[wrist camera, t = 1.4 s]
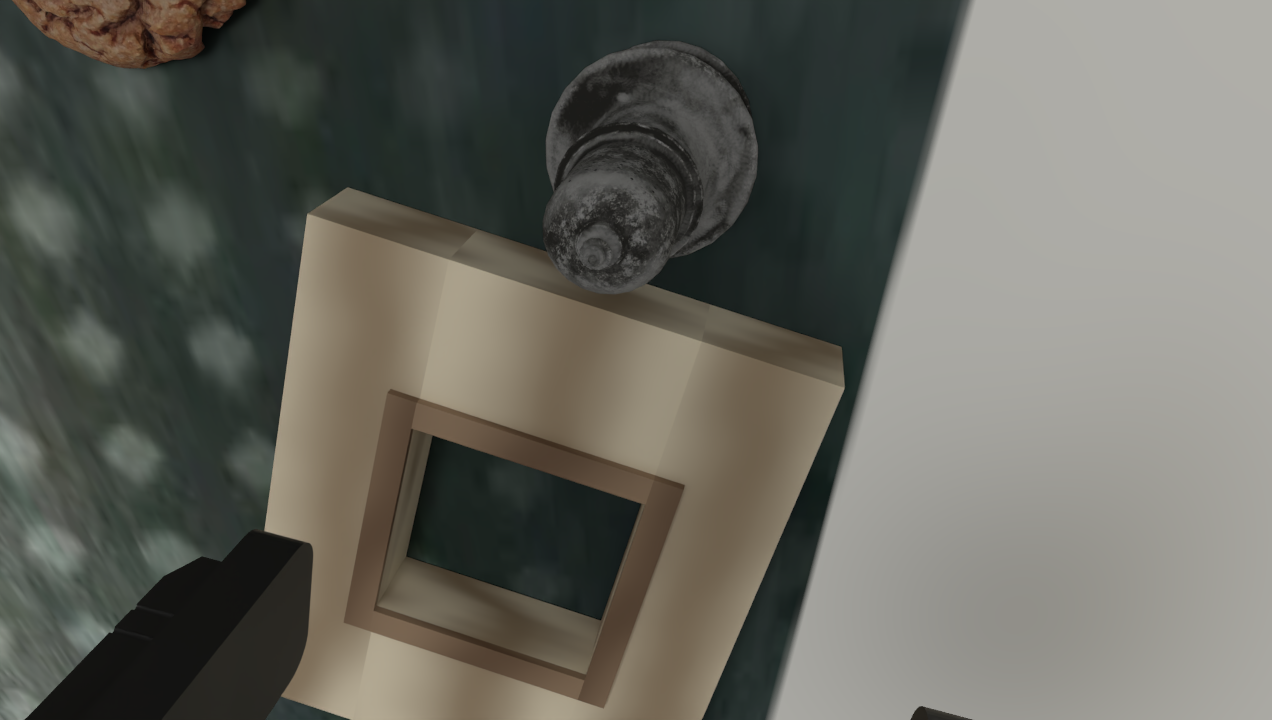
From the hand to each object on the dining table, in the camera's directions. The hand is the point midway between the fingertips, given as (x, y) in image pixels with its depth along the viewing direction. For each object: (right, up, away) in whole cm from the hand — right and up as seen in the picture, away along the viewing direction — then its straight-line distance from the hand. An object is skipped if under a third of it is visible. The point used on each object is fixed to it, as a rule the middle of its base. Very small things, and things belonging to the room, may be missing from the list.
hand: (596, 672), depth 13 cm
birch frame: (-4, -1, +24) cm, 25 cm away
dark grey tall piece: (+2, +11, +18) cm, 21 cm away
